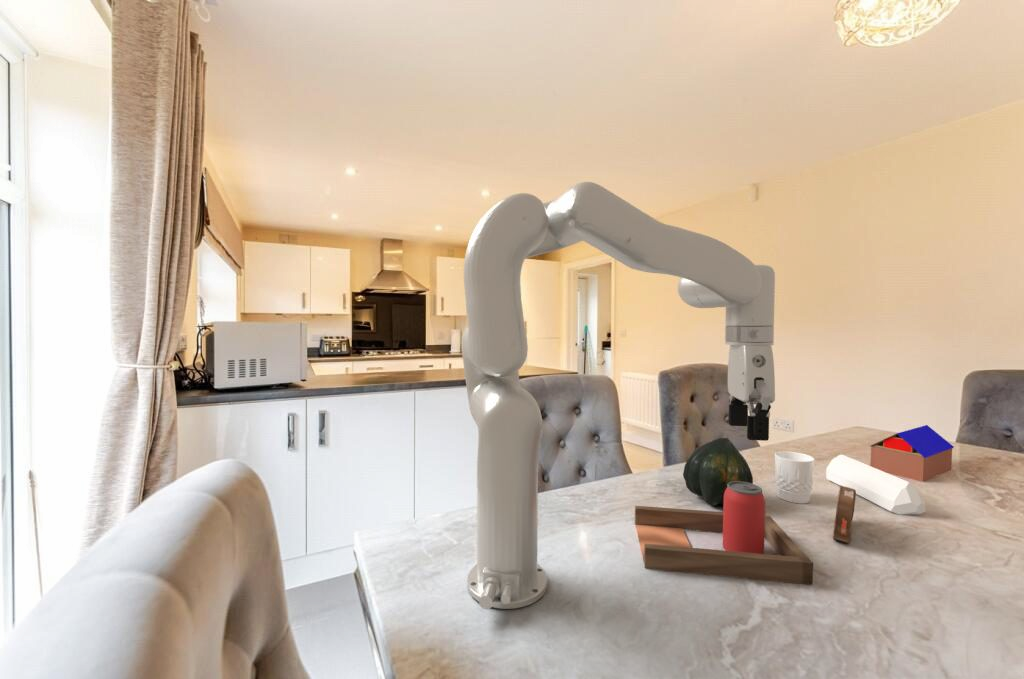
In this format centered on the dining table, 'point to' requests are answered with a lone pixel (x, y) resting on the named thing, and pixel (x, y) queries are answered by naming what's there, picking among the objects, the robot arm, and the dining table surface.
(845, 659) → the dining table surface
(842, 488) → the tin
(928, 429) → the house
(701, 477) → the squash
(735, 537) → the beer can
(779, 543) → the frame
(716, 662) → the dining table surface
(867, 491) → the crystal
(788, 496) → the white cup
